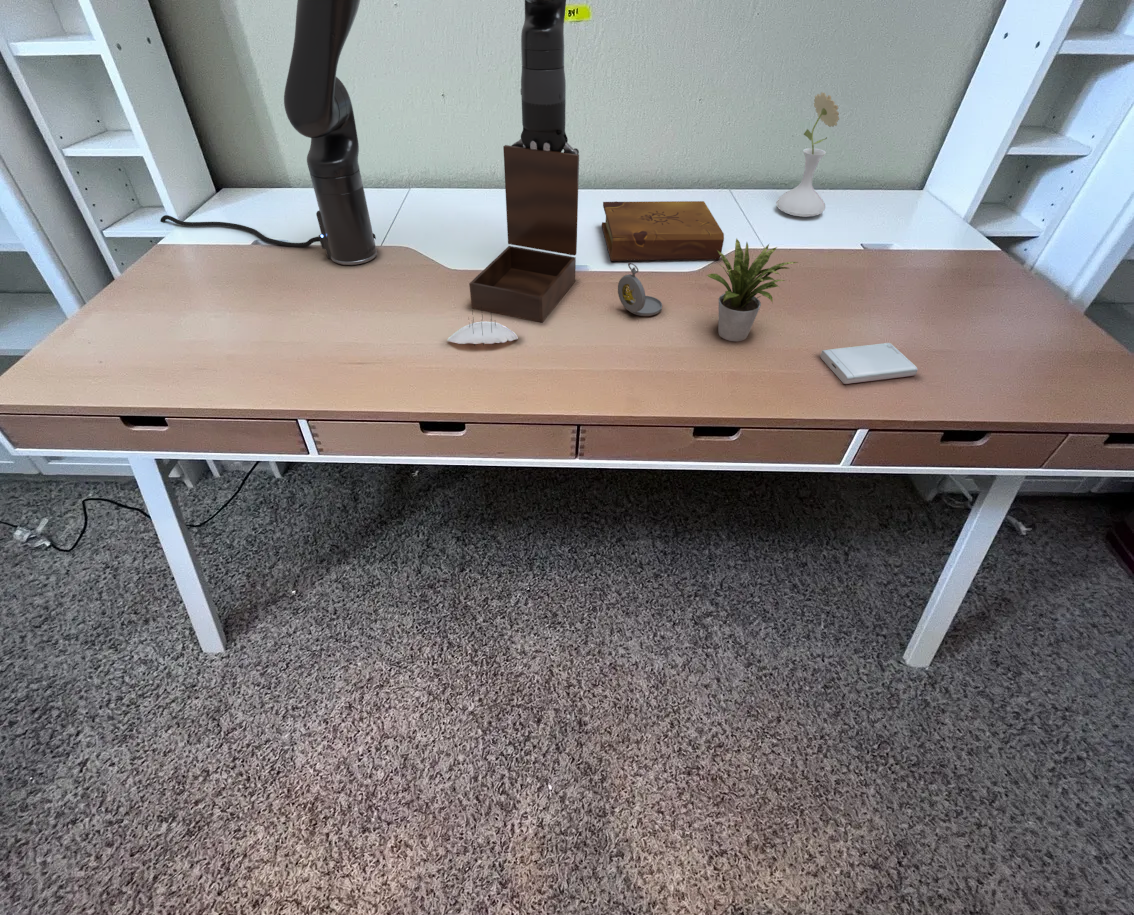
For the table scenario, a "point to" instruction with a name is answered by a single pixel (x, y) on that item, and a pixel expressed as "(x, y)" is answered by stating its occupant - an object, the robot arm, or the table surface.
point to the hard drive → (868, 363)
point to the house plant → (743, 292)
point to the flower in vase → (810, 167)
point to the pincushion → (483, 333)
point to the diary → (661, 231)
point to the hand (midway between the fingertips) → (545, 199)
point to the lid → (541, 199)
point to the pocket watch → (637, 296)
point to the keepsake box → (523, 283)
